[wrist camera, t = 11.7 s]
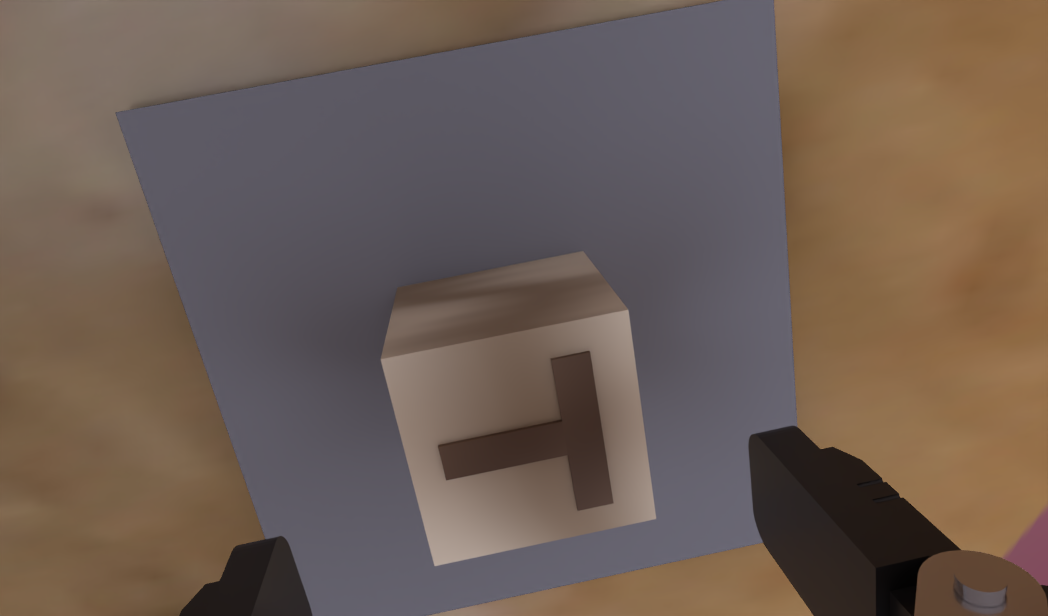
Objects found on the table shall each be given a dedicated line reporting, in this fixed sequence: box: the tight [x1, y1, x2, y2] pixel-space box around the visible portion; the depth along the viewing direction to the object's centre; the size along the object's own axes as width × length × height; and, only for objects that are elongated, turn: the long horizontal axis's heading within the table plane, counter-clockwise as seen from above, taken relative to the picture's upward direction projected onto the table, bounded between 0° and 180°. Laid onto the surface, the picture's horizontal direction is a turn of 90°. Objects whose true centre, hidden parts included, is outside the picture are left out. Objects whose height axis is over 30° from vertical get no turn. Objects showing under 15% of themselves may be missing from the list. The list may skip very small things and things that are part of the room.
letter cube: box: [381, 251, 656, 566], centre depth 17 cm, size 5×5×5 cm
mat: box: [116, 0, 797, 616], centre depth 20 cm, size 16×16×1 cm
